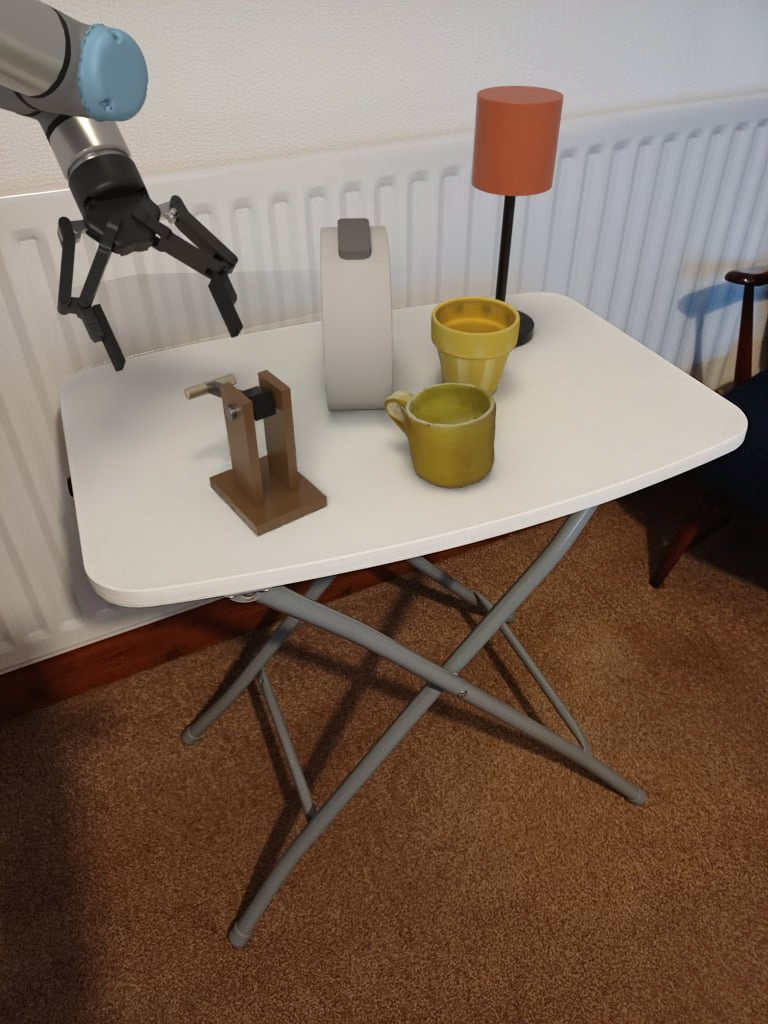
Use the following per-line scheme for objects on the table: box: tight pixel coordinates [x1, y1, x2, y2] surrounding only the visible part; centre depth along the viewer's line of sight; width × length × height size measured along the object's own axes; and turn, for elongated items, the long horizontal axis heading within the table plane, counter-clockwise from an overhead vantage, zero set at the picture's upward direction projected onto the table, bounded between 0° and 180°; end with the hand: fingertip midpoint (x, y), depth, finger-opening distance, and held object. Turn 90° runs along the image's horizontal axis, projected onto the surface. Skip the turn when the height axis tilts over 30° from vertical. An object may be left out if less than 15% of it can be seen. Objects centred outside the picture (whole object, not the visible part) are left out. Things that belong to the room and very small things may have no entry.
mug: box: [384, 382, 497, 489], centre depth 83 cm, size 12×10×10 cm
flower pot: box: [430, 296, 520, 395], centre depth 95 cm, size 10×10×10 cm
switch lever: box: [183, 373, 276, 422], centre depth 78 cm, size 13×6×2 cm, turn 37°
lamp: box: [470, 85, 564, 348], centre depth 101 cm, size 10×10×30 cm
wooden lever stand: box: [208, 369, 328, 537], centre depth 76 cm, size 10×8×13 cm
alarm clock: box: [319, 217, 394, 411], centre depth 93 cm, size 21×8×20 cm, turn 3°
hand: (181, 349), depth 85 cm, fingers open, 13 cm apart
